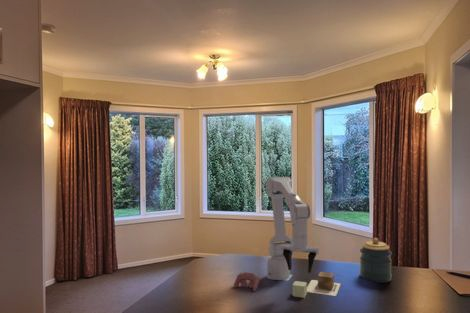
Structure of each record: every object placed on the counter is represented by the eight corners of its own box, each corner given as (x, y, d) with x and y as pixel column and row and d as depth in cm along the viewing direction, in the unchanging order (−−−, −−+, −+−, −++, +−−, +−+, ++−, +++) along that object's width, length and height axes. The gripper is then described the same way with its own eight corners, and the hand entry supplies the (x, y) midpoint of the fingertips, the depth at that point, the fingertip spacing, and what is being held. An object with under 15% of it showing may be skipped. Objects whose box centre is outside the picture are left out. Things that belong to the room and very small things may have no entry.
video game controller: (258, 292, 151) (261, 275, 154) (255, 291, 148) (257, 273, 150) (236, 289, 156) (239, 271, 158) (232, 287, 152) (235, 269, 155)
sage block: (292, 297, 143) (292, 284, 142) (295, 293, 147) (295, 280, 147) (304, 299, 141) (304, 286, 141) (306, 295, 145) (306, 282, 145)
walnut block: (317, 288, 150) (317, 275, 150) (320, 283, 155) (320, 271, 155) (331, 290, 148) (332, 277, 148) (333, 285, 153) (334, 273, 153)
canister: (358, 281, 160) (358, 240, 159) (360, 271, 172) (360, 233, 171) (391, 285, 155) (392, 243, 154) (391, 275, 167) (391, 236, 166)
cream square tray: (304, 292, 147) (304, 291, 147) (311, 281, 160) (311, 279, 160) (335, 297, 142) (335, 295, 142) (340, 285, 155) (340, 283, 155)
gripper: (278, 235, 142) (278, 271, 143) (317, 239, 137) (316, 276, 137) (283, 232, 149) (283, 266, 149) (320, 235, 143) (320, 270, 144)
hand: (299, 270), depth 143 cm, fingers open, 7 cm apart
